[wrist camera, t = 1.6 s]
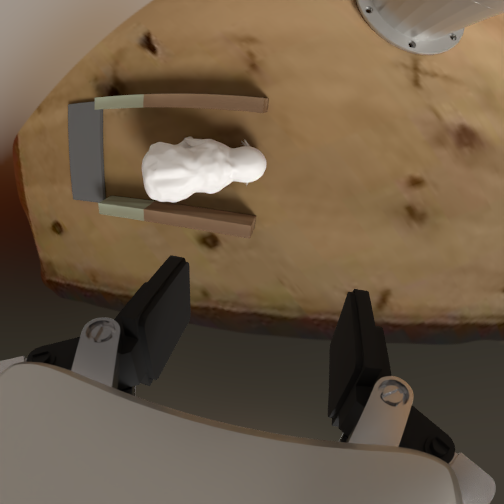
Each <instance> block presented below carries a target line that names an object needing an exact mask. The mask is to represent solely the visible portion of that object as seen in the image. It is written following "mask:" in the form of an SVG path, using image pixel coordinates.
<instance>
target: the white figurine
mask: <svg viewBox="0 0 504 504" xmlns="http://www.w3.org/2000/svg"><path fill="white" fill-rule="evenodd" d="M244 140H245V139H244ZM245 141H246V140H245ZM245 141H244V142H245ZM241 142H242V141H241ZM242 143H243V142H242ZM245 143H246V145H247V146H246V145H245V144H244V143H243V144H244V145H245V146H243V147H238V148H230V147H228V146H226V145H224V144H223V143H220V142H217V141H215V140H213V139H193V137H191V136H190V137H186V138H184V140H183V141H182V142H181V143H179V144H177V145H172V144H169V143H164V142H157V143H155V144H152V145H151V146H150V149H149V151H148V152H147V153H146V155H145V156H144V158H143V161H142V174H143V182H144V187H145V190H146V192H147V194H148V196H149V197H150V198H151V199H153V200H157V201H159V202H172V203H174V202H178V201H181V200H183V199H186V198H188V197H189V196H191V195H192V194H193V193H195V192H205V193H209V194H212V193H216V192H218V191H220V190H221V189H223V188H224V187H225V186H227V185H229V184H230V183H231V182H232V181H238V182H246V183H247V182H248V183H249V182H253V181H255V180H257V179H259V178H260V177H261V176H262V175H263V173H264V171H265V169H266V159H265V157H264V155H263V153H262V152H261V151H260V150H258V149H256V148H254V147H251V146H250V145H249V144H248V143H247V141H246V142H245ZM241 145H242V144H241ZM248 183H247V184H248ZM245 185H246V184H245Z"/></svg>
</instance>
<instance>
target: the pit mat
mask: <svg viewBox="0 0 504 504" xmlns="http://www.w3.org/2000/svg"><path fill="white" fill-rule="evenodd" d="M68 132H69V156H70V170H71V182H72V192H73V199H75V200H83V201H91V202H98V203H99V202H101V201H103V200H104V199H106V195H105V180H104V160H103V109H99V110H95V102H85V103H76V104H69V105H68Z"/></svg>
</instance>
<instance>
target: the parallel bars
mask: <svg viewBox="0 0 504 504" xmlns="http://www.w3.org/2000/svg"><path fill="white" fill-rule="evenodd" d="M268 100H269V99H268V98H258V97H247V96H234V95H216V94H139V95H122V96H109V97H98V98H95V110H99V109H115V108H142V107H180V108H208V109H225V110H238V111H249V112H259V113H265V112H267V110H268ZM98 205H99V214H104V215H110V216H117V217H123V218H129V219H136V220H142V221H148V222H154V223H160V224H167V225H173V226H179V227H185V228H191V229H197V230H203V231H209V232H215V233H221V234H227V235H233V236H239V237H244V238H250V237H251V235H252V233H253V230H254V228H255V221H256V216H253V215H247V214H241V213H234V212H228V211H221V210H215V209H208V208H201V207H194V206H187V205H180V204H173V203H166V202H158V201H151V200H143V199H135V198H127V197H119V196H110V197H108V198H106V199H104V200H103V201H101V202H99V203H98Z"/></svg>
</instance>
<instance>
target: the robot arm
mask: <svg viewBox="0 0 504 504" xmlns="http://www.w3.org/2000/svg"><path fill="white" fill-rule="evenodd" d="M356 3H357V5H358V8H359V10H360V12H361V14H362V16H363V17H364V19H365V21H366V22H367V23H368V24H369V25H370V27H371V28H372V29H373V30H374V31H375V32H376V33H377V34H378V35H379V36H380V37H382V38H383V39H384V40H386V41H387V42H389V43H390V44H392V45H394V46H396V47H398V48H400V49H402V50H405V51H407V52H410V53H414V54H420V55H434V54H439V53H442V52H445V51H448V50H449V49H451V48H453V47H454V46H455V45H456V44H457V43H458V42H459V41H460V39H461V37H462V35H463V32H464V28H465V27H467V26H470V25H472V24H475V23H477V22H480V21H482V20H485V19H488V18H490V17H493V16H496V15H499V14H502V13H504V0H356ZM366 10H368V11H370V13H367V12H366ZM450 37H451V38H452V39H451V38H450ZM408 44H411V46H412V47H409V45H408ZM189 320H190V278H189V263H188V262H186V261H185V258H182V257H177V256H170V257H169V258H168V259H167V260H166V261H165V262H164V264H163V265H162V266H161V267H160V268H159V269H158V271H157V272H156V273H155V274H154V275H153V277H152V278H151V279H150V280H149V281H148V282H146V283H144V284H143V285H142V286H141V287H140V289H139V290H138V291H137V292H136V293H135V295H134V296H133V297H132V298H131V299H130V301H129V302H128V303H127V304H126V306H125V307H124V308H123V309H122V310H121V312H120V313H119V314H118V316H117V317H116V318H115V319H114V320H113V319H110V318H105V317H103V318H97V319H93V320H91V321H90V322H88V323H87V324H86V325H85V326H84V328H83V330H82V333H81V336H80V337H77V338H74V339H70V340H66V341H62V342H58V343H54V344H50V345H46V346H42V347H39V348H36V349H35V350H33V351H32V352H31V353H30V354H29V355H28V357H27V359H25V357H24V356H21V357H17V358H13V359H8V360H4V361H0V504H490V502H491V500H492V498H493V496H494V494H495V483H494V480H493V479H492V478H491V476H489V475H488V474H487V473H485V472H484V471H483V470H482V469H480V468H479V467H478V466H477V465H476V464H474V463H473V462H472V461H471V460H469V459H468V458H467V457H466V456H465V455H463V454H462V453H459V454H457V453H455V446H454V443H453V441H452V439H451V438H450V437H449V436H448V435H447V434H446V433H445V432H443V431H442V430H441V429H440V428H439V427H437V426H436V425H435V424H434V423H432V422H431V421H430V420H429V419H428V418H427V417H425V416H424V415H423V414H422V413H421V412H419V411H418V410H417V409H416V408H415V407H413V406H412V402H413V392H412V389H411V388H410V386H409V385H408V384H407V383H406V382H405V381H404V380H402V379H400V378H398V377H394V376H391V371H390V364H389V358H388V353H387V348H386V342H385V337H384V332H383V328H382V327H380V326H375V322H374V317H373V311H372V306H371V301H370V296H369V292H368V291H364V290H358V289H354V290H353V292H348V294H347V297H346V300H345V303H344V306H343V309H342V312H341V315H340V318H339V321H338V324H337V327H336V329H335V332H334V335H333V338H332V341H331V344H330V365H329V400H328V417H330V418H332V426H339V429H340V430H341V431H342V432H343V435H342V437H341V439H340V440H339V442H335V441H326V440H317V439H308V438H301V437H293V436H287V435H281V434H275V433H270V432H264V431H259V430H254V429H249V428H244V427H239V426H235V425H231V424H226V423H222V422H218V421H214V420H210V419H206V418H203V417H199V416H195V415H191V414H188V413H185V412H181V411H178V410H175V409H171V408H168V407H165V406H162V405H159V404H156V403H153V402H150V401H147V400H144V399H142V398H139V397H136V396H135V388H136V385H139V384H140V383H142V384H145V385H148V386H150V385H151V383H152V381H153V379H154V380H157V379H158V378H159V376H160V374H161V372H162V370H163V368H164V367H165V365H166V363H167V361H168V359H169V357H170V355H171V354H172V351H173V350H174V348H175V346H176V344H177V342H178V341H179V339H180V337H181V335H182V333H183V331H184V329H185V328H186V326H187V324H188V322H189Z"/></svg>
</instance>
